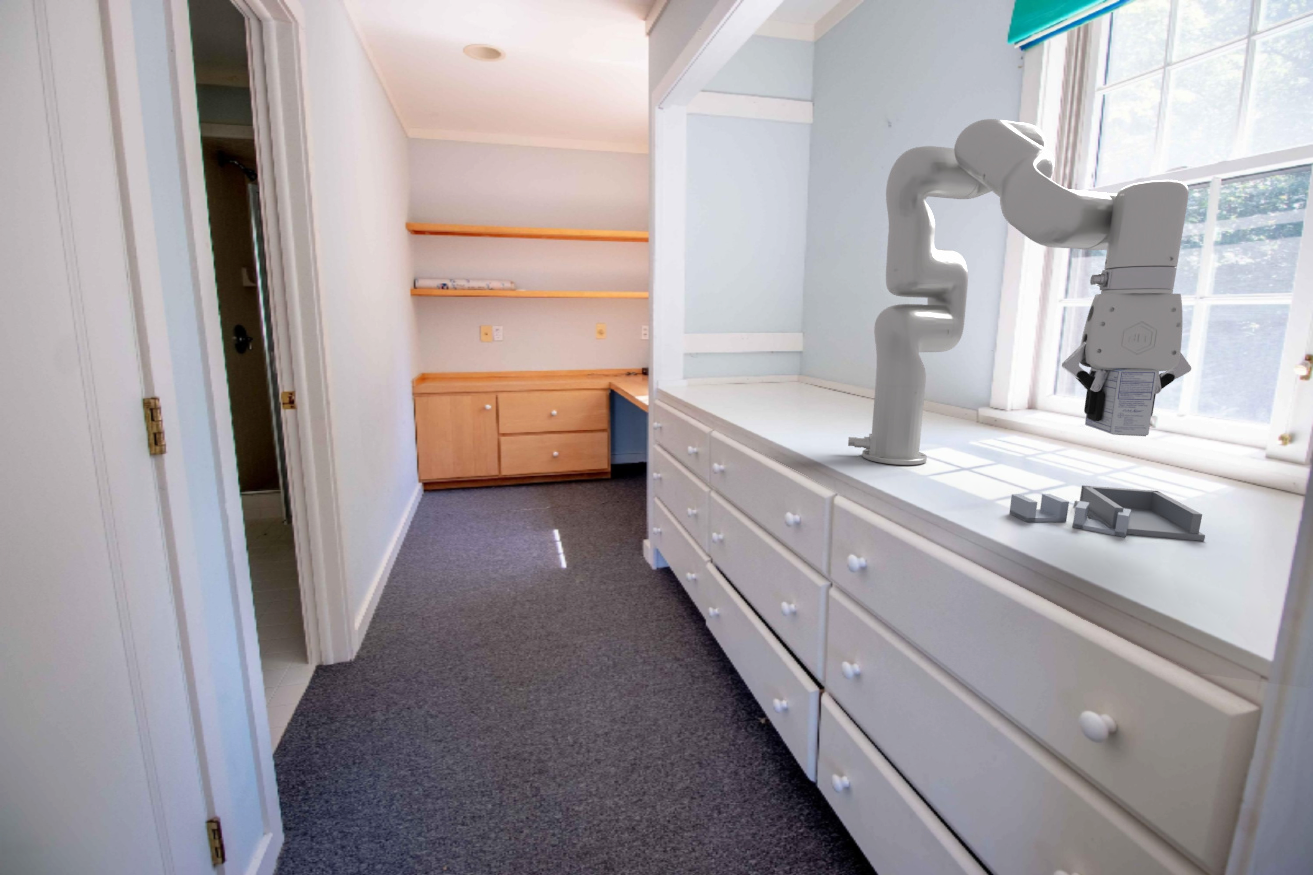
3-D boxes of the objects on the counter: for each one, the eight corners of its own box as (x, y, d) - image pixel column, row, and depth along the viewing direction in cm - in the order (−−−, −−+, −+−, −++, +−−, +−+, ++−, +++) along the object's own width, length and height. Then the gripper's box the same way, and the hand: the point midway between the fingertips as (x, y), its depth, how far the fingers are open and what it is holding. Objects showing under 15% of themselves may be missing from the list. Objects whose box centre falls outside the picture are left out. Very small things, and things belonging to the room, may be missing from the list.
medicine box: (1149, 437, 80) (1160, 370, 78) (1110, 435, 81) (1120, 369, 79) (1118, 427, 87) (1128, 365, 86) (1083, 425, 88) (1091, 365, 87)
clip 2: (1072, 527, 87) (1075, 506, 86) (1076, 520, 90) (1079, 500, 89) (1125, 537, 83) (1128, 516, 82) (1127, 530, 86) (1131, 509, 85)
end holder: (1108, 532, 85) (1112, 508, 84) (1074, 505, 97) (1077, 484, 97) (1204, 541, 82) (1208, 515, 81) (1156, 512, 94) (1159, 490, 94)
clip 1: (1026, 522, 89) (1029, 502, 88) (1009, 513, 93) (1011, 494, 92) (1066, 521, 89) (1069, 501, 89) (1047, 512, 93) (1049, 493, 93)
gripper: (1073, 282, 79) (1054, 421, 83) (1233, 281, 75) (1206, 429, 78) (1054, 285, 86) (1037, 413, 90) (1199, 284, 82) (1176, 420, 85)
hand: (1116, 419), depth 84 cm, fingers closed on medicine box, 4 cm apart
